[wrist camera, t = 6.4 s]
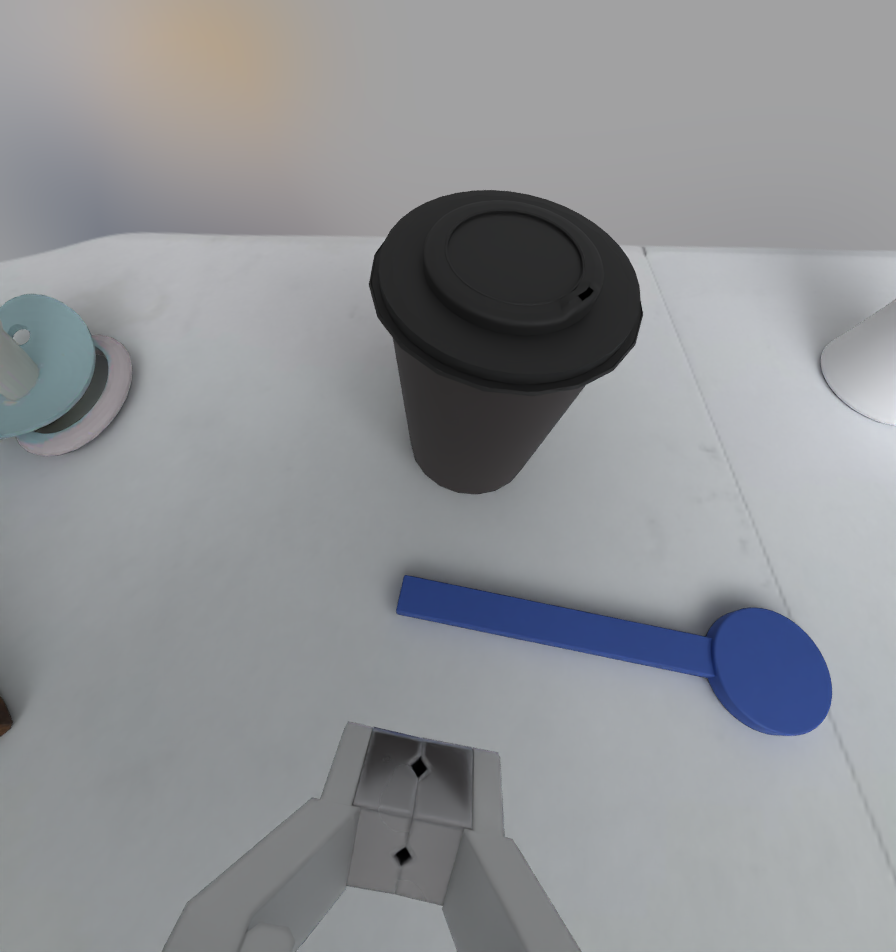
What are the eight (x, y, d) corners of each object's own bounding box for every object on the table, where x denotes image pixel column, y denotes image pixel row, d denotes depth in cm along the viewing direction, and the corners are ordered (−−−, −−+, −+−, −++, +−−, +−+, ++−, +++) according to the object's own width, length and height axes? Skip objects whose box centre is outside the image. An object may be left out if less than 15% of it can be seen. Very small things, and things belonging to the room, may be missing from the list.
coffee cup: (546, 544, 20) (663, 398, 11) (356, 499, 20) (323, 320, 11) (564, 392, 24) (662, 194, 15) (405, 356, 24) (409, 139, 15)
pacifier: (158, 342, 23) (24, 329, 22) (87, 222, 18) (-92, 201, 17) (104, 477, 20) (-56, 465, 19) (-5, 380, 14) (-234, 360, 14)
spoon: (386, 655, 17) (385, 652, 17) (412, 542, 19) (412, 535, 19) (826, 746, 17) (844, 747, 16) (805, 623, 19) (820, 619, 19)
